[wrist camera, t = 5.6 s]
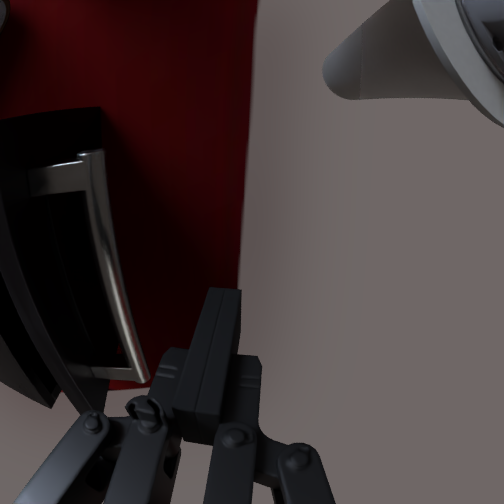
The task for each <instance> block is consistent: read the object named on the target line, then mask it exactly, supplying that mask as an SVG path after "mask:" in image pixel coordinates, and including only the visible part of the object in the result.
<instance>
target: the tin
mask: <svg viewBox="0 0 504 504" xmlns="http://www.w3.org/2000/svg"><path fill="white" fill-rule="evenodd" d="M9 13H10V1H9V0H0V34H1V32H2V30H3V28H4V26H5V24H6V22H7V20H8V17H9Z"/></svg>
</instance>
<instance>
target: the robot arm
mask: <svg viewBox="0 0 504 504" xmlns="http://www.w3.org/2000/svg"><path fill="white" fill-rule="evenodd" d="M455 4H456V7H457V10H458V13H459V16H460V18H461V21H462V23H463V25H464V28H465V30H466V32H467V34H468V36H469V38H470V39H471V41H472V43H473V45H474V47H475V48H476V50H477V51H478V53H479V55H480V56H481V58H482V59H483V61H484V62H485V64H486V65H487V66H488V67H489V69H490V70H491V71H492V72H493V74H494V75H495V76H496V77H497V78H498V79H499V80H500V81H501V82H502V83H503V84H504V0H455ZM241 291H242V290H239V289H227V288H215V287H209V290H208V293H207V296H206V299H205V302H204V305H203V308H202V311H201V314H200V317H199V321H198V324H197V327H196V330H195V333H194V336H193V339H192V342H191V345H190V348H189V349H182V348H175V347H170V348H169V349H168V350H167V351H166V352H165V353H164V354H163V356H162V358H161V361H160V364H159V367H158V369H157V371H156V375H155V377H154V379H153V382H152V384H151V387H150V390H149V393H148V395H147V396H145V395H141V396H138V397H134V398H133V399H131V400H130V401H129V402H128V403H127V404H126V406H125V408H126V410H127V412H128V413H129V415H130V416H127V417H107V416H106V415H105V414H104V413H103V412H100V411H98V410H89V411H86V412H84V413H83V414H82V415H80V416H79V418H78V419H77V420H76V421H75V423H74V424H73V425H72V426H71V428H70V429H69V430H68V431H67V433H66V434H65V435H64V437H63V438H62V439H61V440H60V442H59V443H58V444H57V446H56V447H55V448H54V449H53V451H52V452H51V453H50V455H49V456H48V457H47V459H46V460H45V461H44V462H43V464H42V465H41V466H40V468H39V469H38V470H37V471H36V473H35V474H34V475H33V477H32V478H31V479H30V481H29V482H28V483H27V485H26V486H25V488H24V489H23V490H22V492H21V493H20V494H19V496H18V497H17V498H16V500H15V501H14V503H13V504H102V502H103V501H104V503H103V504H170V502H171V497H172V492H173V488H174V483H175V479H176V474H177V470H178V466H179V461H180V457H181V448H180V443H181V439H182V437H183V440H184V441H186V442H192V443H198V444H204V445H211V446H213V450H212V456H211V461H210V467H209V473H208V479H207V484H206V490H205V496H204V501H203V504H251V503H252V493H253V482H256V483H259V484H262V485H264V486H267V487H270V488H271V491H272V496H273V500H274V504H336V503H335V500H334V497H333V494H332V492H331V488H330V485H329V482H328V480H327V477H326V474H325V471H324V468H323V465H322V462H321V459H320V456H319V454H318V452H317V451H316V449H314V448H313V447H312V446H310V445H308V444H305V443H293V444H290V445H286V444H283V443H280V442H277V441H274V440H272V439H270V438H268V437H267V436H266V435H264V434H263V432H262V431H261V429H260V427H259V423H258V417H259V403H260V388H261V374H262V365H261V363H260V361H259V359H258V356H251V355H239V354H237V352H238V346H239V339H240V333H241ZM104 499H105V500H104Z"/></svg>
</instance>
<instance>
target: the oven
mask: <svg viewBox="0 0 504 504" xmlns="http://www.w3.org/2000/svg"><path fill="white" fill-rule="evenodd" d="M0 381H1V382H2V383H4V384H5V385H7V386H9V387H10V388H12V389H14V390H16V391H17V392H19V393H21V394H23V395H25V396H26V397H28V398H30V399H32V400H34V401H36V402H38V403H40V404H42V405H44V406H46V407H48V408H50V409H51V408H52V407H53V405H54V403H55V401H56V399H57V397H58V396H59V394H60V392H61V390H62V389H61V387H60V386H59V384H58V383H57V381H56V380H55V378H54V377H53V375H52V374H51V372H50V371H49V369H48V367H47V366H46V364H45V363H44V361H43V359H42V358H41V356H40V354H39V352H38V351H37V349H36V347H35V345H34V343H33V342H32V340H31V338H30V336H29V334H28V332H27V330H26V328H25V326H24V324H23V322H22V320H21V318H20V316H19V314H18V312H17V310H16V308H15V305H14V303H13V301H12V299H11V296H10V294H9V292H8V289H7V287H6V284H5V282H4V279H3V277H2V274H1V271H0Z"/></svg>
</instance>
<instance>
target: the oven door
mask: <svg viewBox="0 0 504 504" xmlns="http://www.w3.org/2000/svg"><path fill="white" fill-rule="evenodd" d="M0 271H1V274H2V277H3V279H4V282H5V284H6V287H7V289H8V292H9V294H10V296H11V299H12V301H13V303H14V305H15V308H16V310H17V312H18V314H19V316H20V318H21V320H22V322H23V324H24V326H25V328H26V330H27V332H28V334H29V336H30V338H31V340H32V342H33V343H34V345H35V347H36V349H37V351H38V352H39V354H40V356H41V358H42V359H43V361H44V363H45V364H46V366H47V367H48V369H49V371H50V372H51V374H52V375H53V377H54V378H55V380H56V381H57V383H58V384H59V386H60V387H61V389H62V390H63V392H64V393H65V395H66V396H67V397H68V399H69V400H70V402H71V403H72V404H73V406H74V407H75V408H76V410H77V411H78V412H79V414H80V415H82V414H83V413H84V412H86V411H89V410H98V411H100V412H104V407H105V401H106V397H107V392H108V387H109V382H110V379H114V380H131V381H135V382H137V383H145V382H147V381H149V379H150V377H151V373H150V370H149V367H148V364H147V361H146V358H145V355H144V351H143V348H142V345H141V342H140V338H139V335H138V331H137V328H136V324H135V320H134V317H133V313H132V309H131V305H130V301H129V297H128V293H127V289H126V284H125V280H124V275H123V270H122V266H121V261H120V256H119V250H118V245H117V239H116V233H115V227H114V221H113V214H112V207H111V199H110V191H109V182H108V172H107V160H106V150H105V149H104V148H102V140H101V115H100V107H85V108H74V109H64V110H55V111H48V112H41V113H34V114H28V115H22V116H17V117H12V118H7V119H2V120H0ZM118 344H119V345H120V347H121V350H122V353H123V354H116V352H117V348H118Z"/></svg>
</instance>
